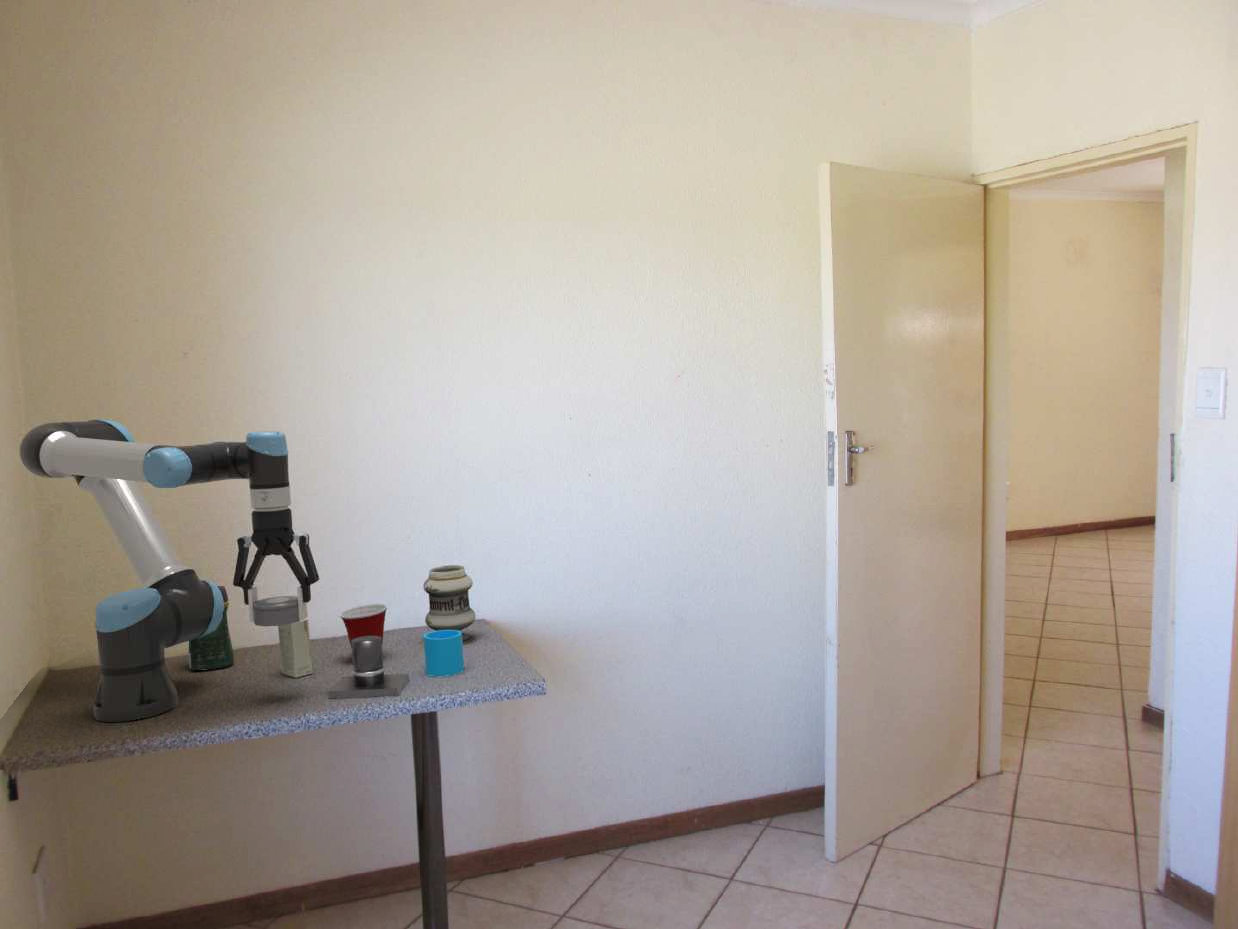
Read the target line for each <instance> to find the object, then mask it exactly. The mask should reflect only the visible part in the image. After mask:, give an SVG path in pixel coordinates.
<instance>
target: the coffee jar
mask: <svg viewBox="0 0 1238 929" xmlns="http://www.w3.org/2000/svg"><path fill="white" fill-rule="evenodd" d="M216 586H217V587H218V588H219V590H220V592H221V594H222V597H223V601H224V611H223V613H222V614H223V616H222V620H221V622H220V624H219V625H218V627H217V628H216V629H215V630H214V631H212V632H211V633H209V634H206V635H204V636H202V637H201V638H199V639H195V640H190V641H188V666H189V667H188V668H189V669H190V670H191V669H192V671H194V670H202V669H213V670H217V669H216V668H219V669H222V667H223V668H227V667H229V666H230V665H233V663H234V662H235V655H234V650H233V645H232V644H233V643H232V640H231V635H230V630H229V624H228V608H229V604H230V602H229V601H230V600H229V597H228V594H227V590H226V587H225V586H224V585H216ZM226 666H227V667H226Z"/></svg>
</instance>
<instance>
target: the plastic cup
mask: <svg viewBox="0 0 1238 929" xmlns="http://www.w3.org/2000/svg"><path fill="white" fill-rule="evenodd" d="M387 610H388V605H387V604H384V603H369V604H364V605H358V606H355V607H354V606H353V607H350V608H348V609H345V610H343V611H342V612H340V613H339V618H341V620H342V622H343V623H344V627H345V629H346V633H347V637H348V641H349V644H350V648H351V649H352V643H351V641H352V640H353V639H355V638H358V637H363V636H380V637H381V639H382V645H383V644H384V643H383V642H384V630H385V621H386V613H387Z"/></svg>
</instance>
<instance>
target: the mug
mask: <svg viewBox="0 0 1238 929" xmlns="http://www.w3.org/2000/svg"><path fill="white" fill-rule="evenodd" d="M462 633H463V632H462V630H460V631H458V630H440V631H436V630H434V631H430V632H427V633H425V634H424V635H423V646H424V647H423V648H424V650H423V651H424V662H425V674H426V675H427V676H429V675H433V676H445V675H452V676H455V675H454V674H456V675H458V674H457V673H459V672H461V671H462V670H463V669H464V670H465V660H464V647H463V645H464V644H462ZM461 673H462V672H461ZM459 674H460V673H459ZM433 676H432V677H433Z"/></svg>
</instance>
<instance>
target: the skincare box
mask: <svg viewBox="0 0 1238 929" xmlns="http://www.w3.org/2000/svg"><path fill="white" fill-rule="evenodd" d="M277 630H278V639H279V640H278V642H279V653H280V661H281V662H280V663H281V672H282V675H285V676H288V677H292V678H300V677H303V676H307V675H311V674H313V673H314V672H313V670H314V669H313V660H312V650H311V639H310V627H309V619H308V618H305V619H304V620H301V621H299V622H295V623H292V624H287V625H280V626H277Z"/></svg>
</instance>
